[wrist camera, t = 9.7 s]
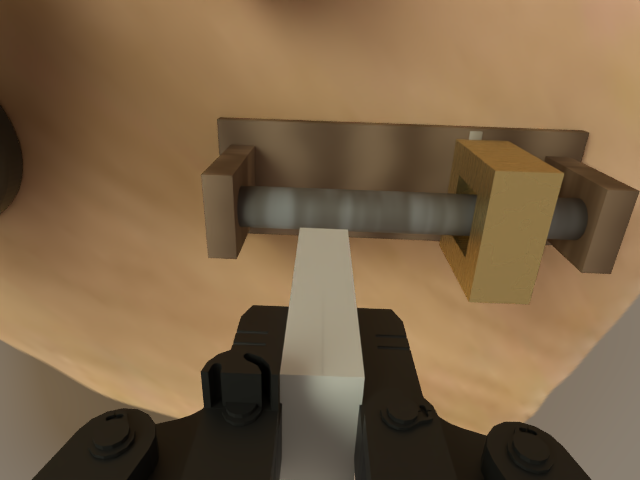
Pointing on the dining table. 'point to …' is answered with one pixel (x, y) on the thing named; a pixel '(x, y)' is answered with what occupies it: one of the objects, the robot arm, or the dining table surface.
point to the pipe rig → (392, 185)
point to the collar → (501, 219)
